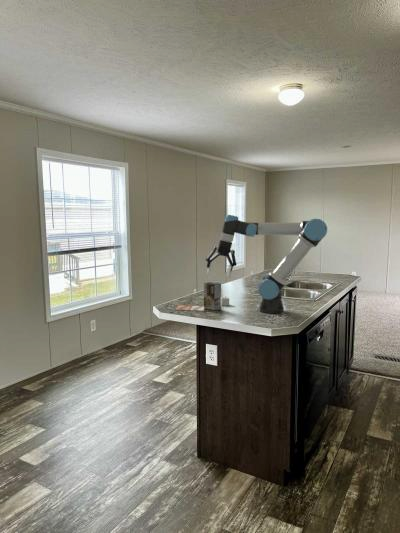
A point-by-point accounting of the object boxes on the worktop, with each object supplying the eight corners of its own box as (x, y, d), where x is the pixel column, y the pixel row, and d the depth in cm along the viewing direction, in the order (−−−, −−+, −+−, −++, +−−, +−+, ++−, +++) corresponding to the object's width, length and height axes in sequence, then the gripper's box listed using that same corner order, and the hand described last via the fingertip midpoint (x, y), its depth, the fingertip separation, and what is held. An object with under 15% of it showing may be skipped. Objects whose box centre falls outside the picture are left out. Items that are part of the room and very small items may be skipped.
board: (220, 307, 249) (220, 306, 249) (219, 312, 235) (219, 311, 235) (177, 305, 252) (177, 304, 252) (173, 310, 239) (173, 309, 238)
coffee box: (220, 309, 242) (221, 283, 240) (214, 310, 237) (214, 284, 236) (210, 306, 248) (210, 281, 246) (203, 308, 244) (203, 282, 242)
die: (226, 304, 259) (227, 296, 258) (229, 305, 254) (229, 297, 253) (219, 304, 258) (219, 296, 257) (221, 306, 253) (222, 298, 252)
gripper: (241, 242, 239) (233, 275, 243) (205, 235, 230) (197, 270, 233) (247, 245, 233) (238, 278, 236) (210, 238, 223) (201, 273, 227)
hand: (217, 274), depth 235 cm, fingers open, 13 cm apart
